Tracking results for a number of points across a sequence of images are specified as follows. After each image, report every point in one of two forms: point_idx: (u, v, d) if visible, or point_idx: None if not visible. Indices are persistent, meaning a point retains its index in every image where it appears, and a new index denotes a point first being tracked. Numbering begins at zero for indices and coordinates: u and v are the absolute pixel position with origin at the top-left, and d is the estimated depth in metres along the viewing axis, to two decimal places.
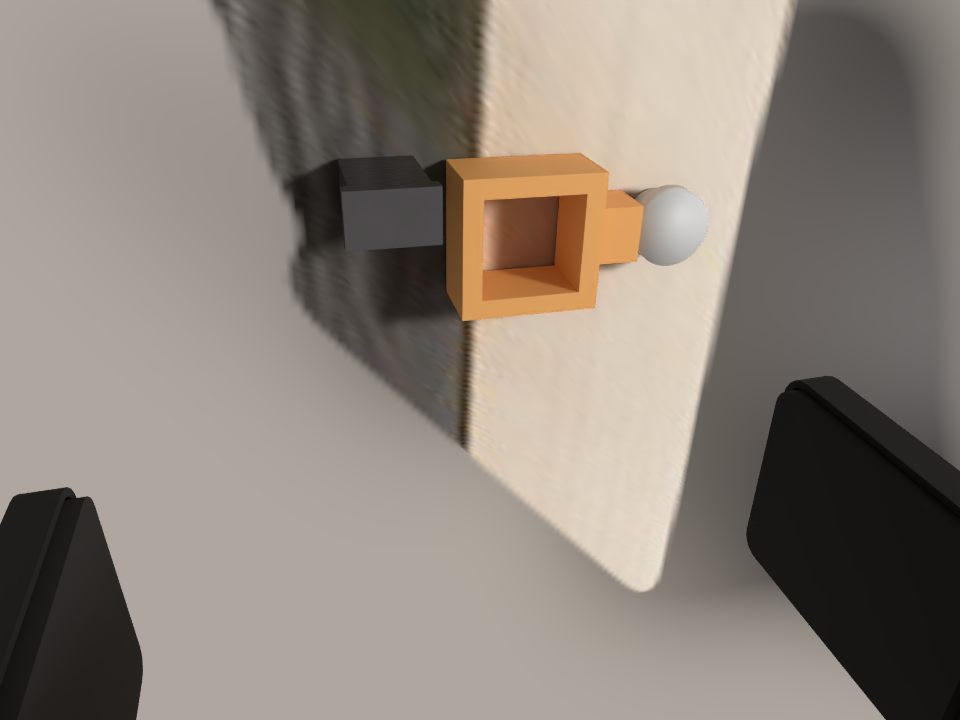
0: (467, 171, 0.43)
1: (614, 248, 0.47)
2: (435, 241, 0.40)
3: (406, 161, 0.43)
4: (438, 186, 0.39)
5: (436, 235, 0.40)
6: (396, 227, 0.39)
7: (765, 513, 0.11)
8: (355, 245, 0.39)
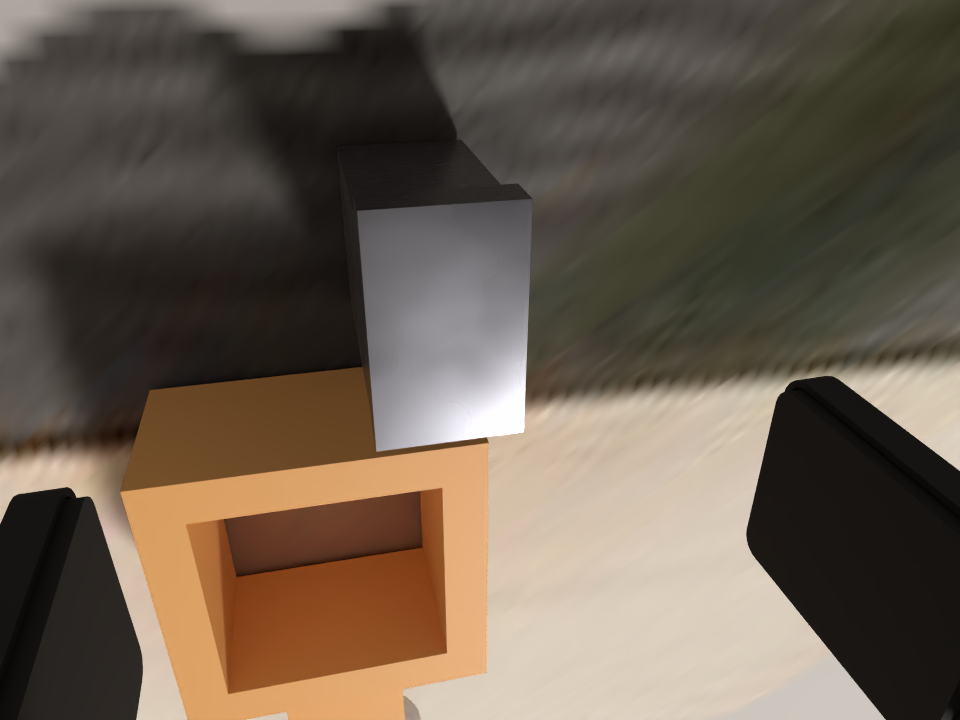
0: None
1: (319, 705, 0.23)
2: (385, 434, 0.16)
3: None
4: (522, 423, 0.16)
5: (401, 434, 0.16)
6: (427, 339, 0.15)
7: (765, 513, 0.11)
8: (377, 238, 0.13)
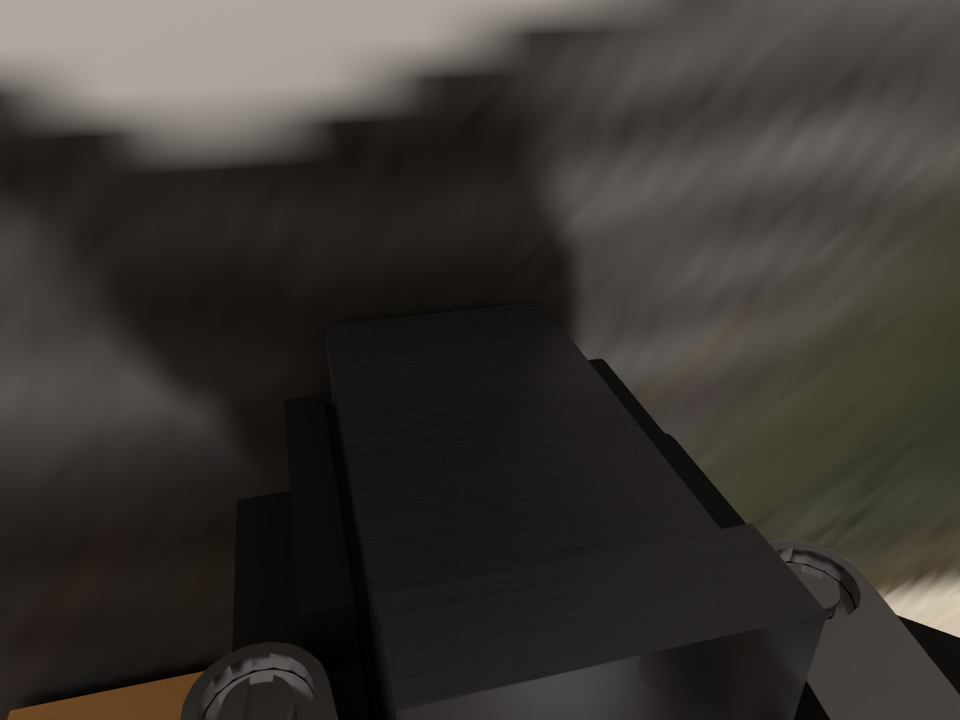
0: None
1: None
2: None
3: None
4: None
5: None
6: None
7: None
8: None
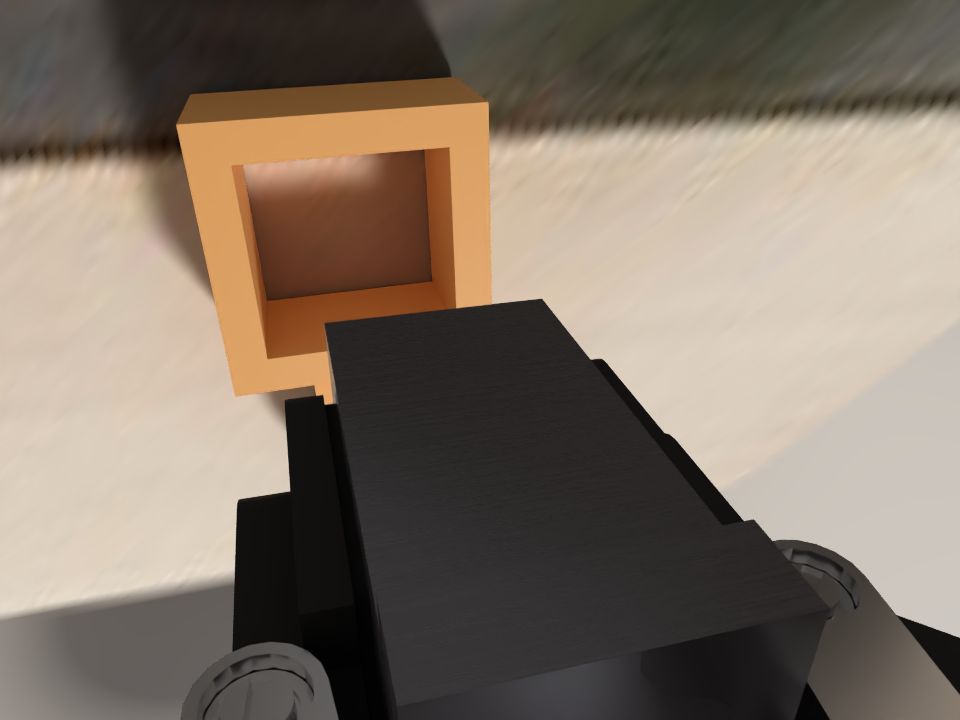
0: None
1: None
2: None
3: None
4: None
5: None
6: None
7: None
8: None
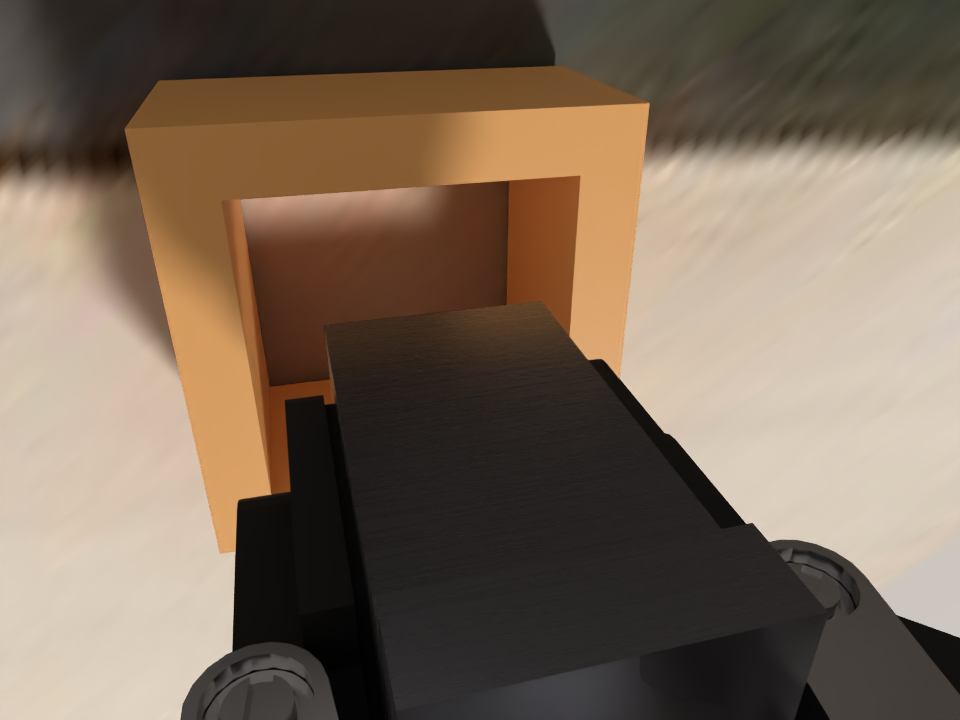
0: None
1: None
2: None
3: None
4: None
5: None
6: None
7: None
8: None
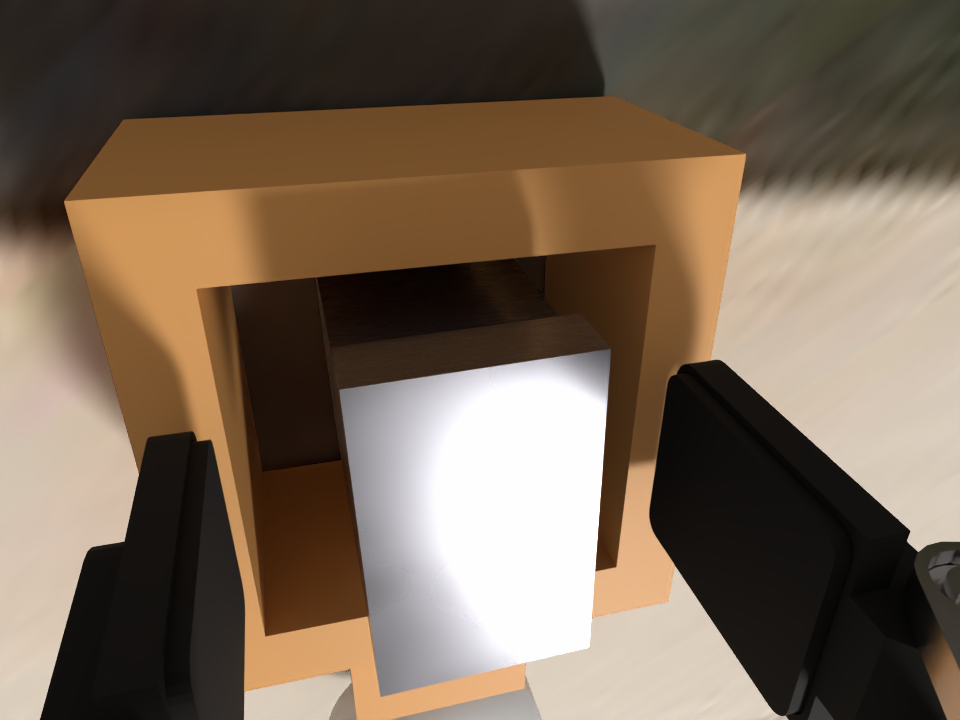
0: None
1: None
2: (393, 675, 0.11)
3: None
4: (587, 635, 0.11)
5: (416, 672, 0.11)
6: (453, 551, 0.10)
7: (662, 493, 0.12)
8: (373, 425, 0.09)
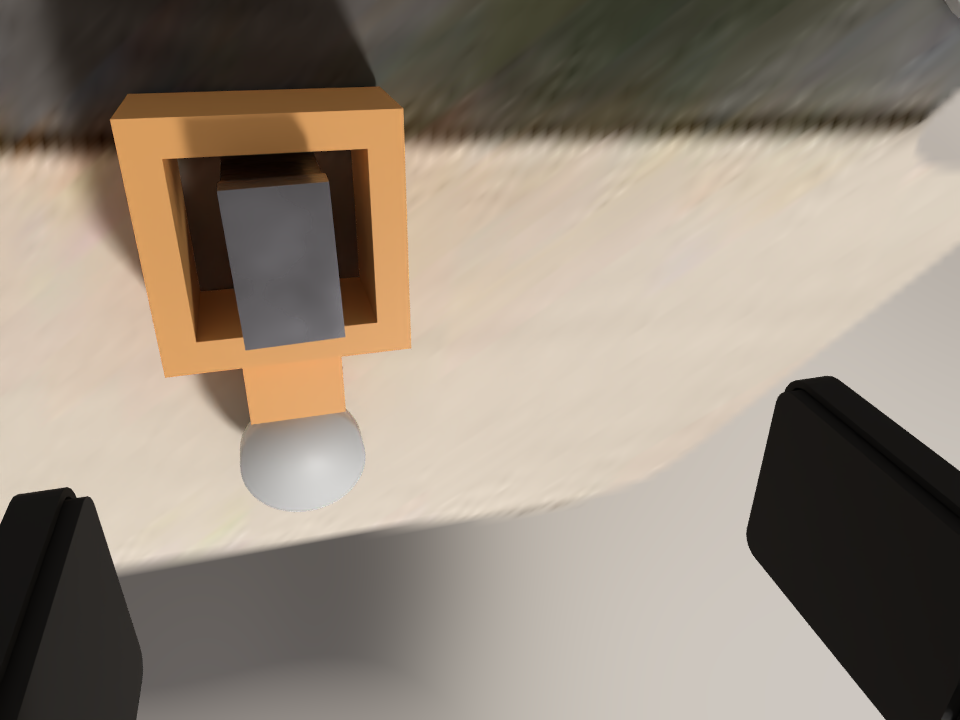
0: None
1: (272, 383, 0.28)
2: (250, 338, 0.24)
3: None
4: (344, 330, 0.25)
5: (261, 338, 0.24)
6: (271, 273, 0.23)
7: (765, 513, 0.11)
8: (231, 208, 0.22)
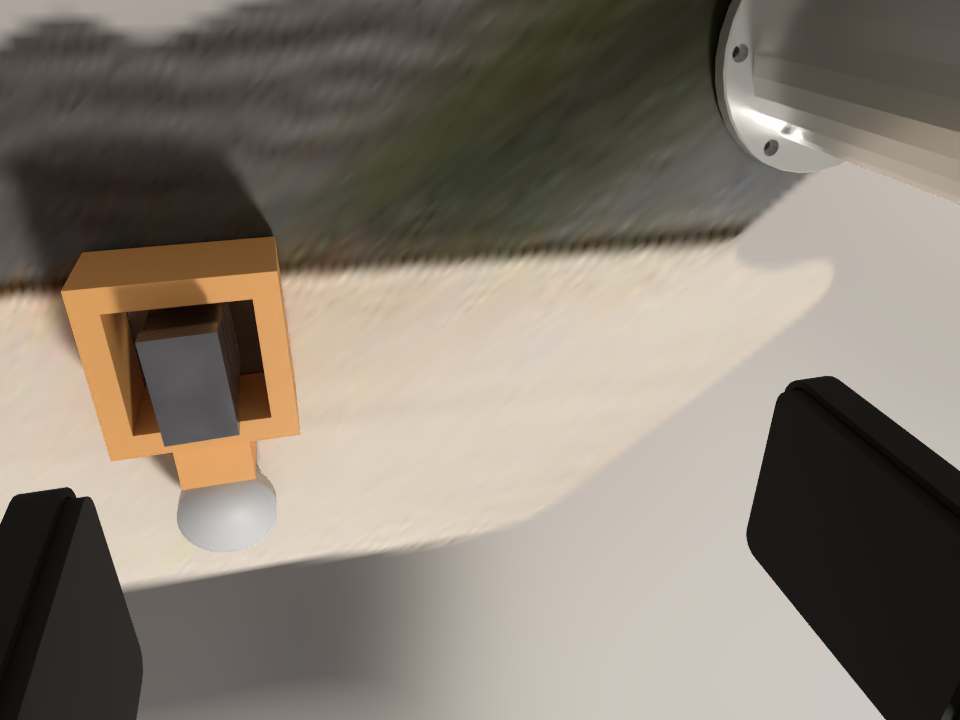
0: None
1: (196, 460, 0.37)
2: (167, 438, 0.33)
3: (237, 360, 0.38)
4: (238, 430, 0.34)
5: (175, 438, 0.33)
6: (179, 394, 0.32)
7: (764, 513, 0.11)
8: (146, 353, 0.31)
